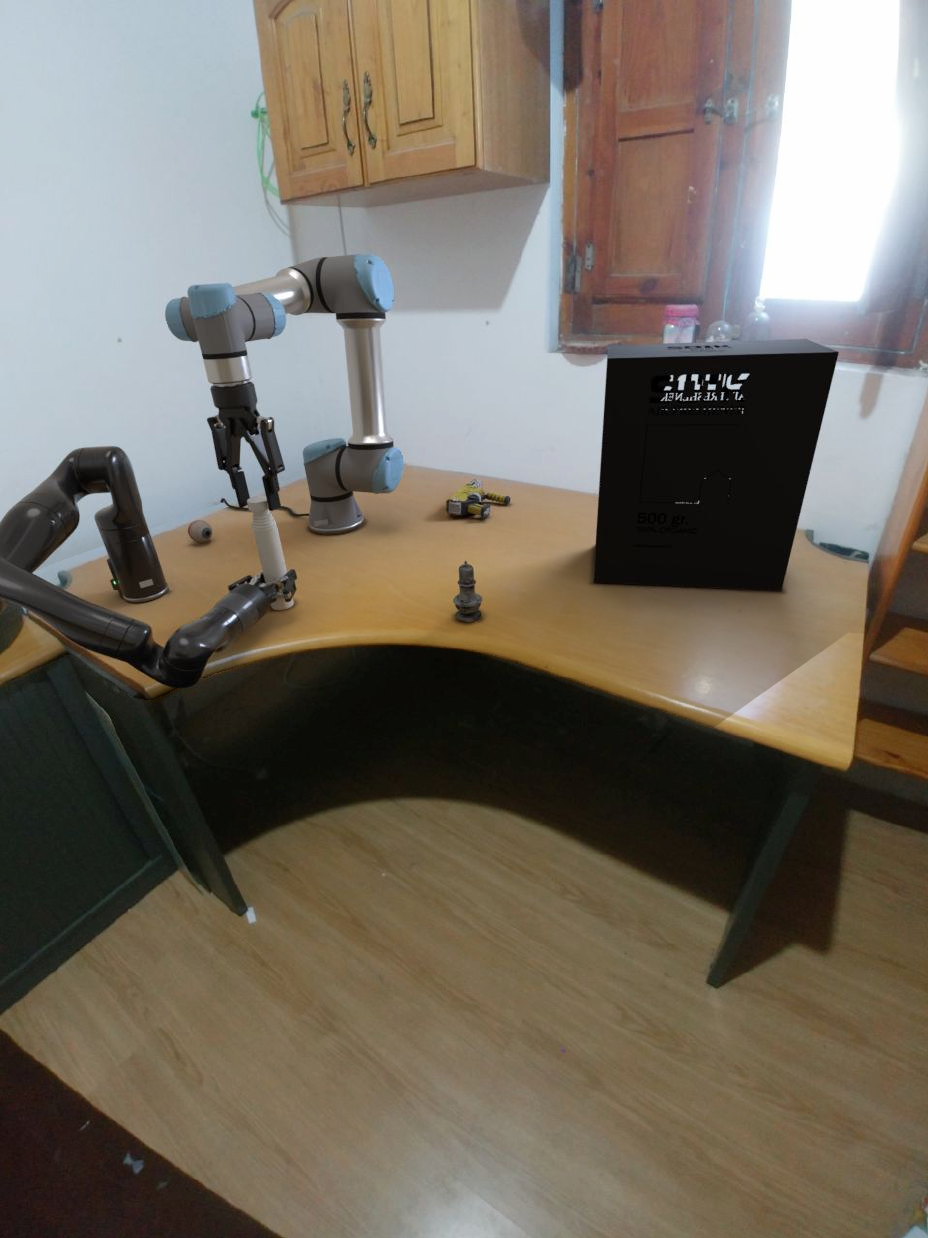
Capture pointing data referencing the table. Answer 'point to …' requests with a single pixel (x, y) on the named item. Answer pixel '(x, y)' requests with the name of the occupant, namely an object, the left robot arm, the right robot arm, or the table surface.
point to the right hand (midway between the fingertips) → (260, 506)
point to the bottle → (270, 552)
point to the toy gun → (473, 500)
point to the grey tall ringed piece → (467, 595)
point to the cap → (257, 504)
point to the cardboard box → (707, 461)
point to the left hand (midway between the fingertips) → (282, 572)
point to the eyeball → (200, 531)
